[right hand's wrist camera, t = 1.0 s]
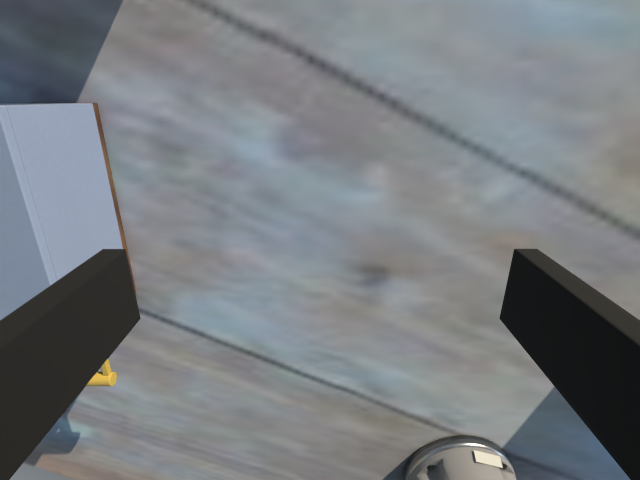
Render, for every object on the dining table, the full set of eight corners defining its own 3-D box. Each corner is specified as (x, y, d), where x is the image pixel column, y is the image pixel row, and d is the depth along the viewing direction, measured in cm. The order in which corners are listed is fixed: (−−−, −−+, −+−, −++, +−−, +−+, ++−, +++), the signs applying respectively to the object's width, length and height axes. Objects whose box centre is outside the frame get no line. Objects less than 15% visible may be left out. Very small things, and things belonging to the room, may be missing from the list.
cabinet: (136, 293, 42) (73, 360, 31) (78, 293, 42) (-4, 360, 31) (97, 103, 34) (-4, 105, 24) (26, 102, 34) (-106, 105, 24)
